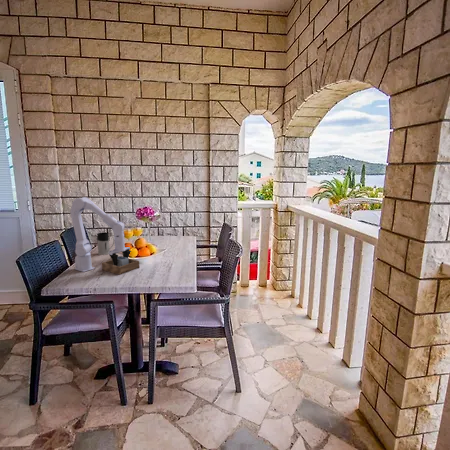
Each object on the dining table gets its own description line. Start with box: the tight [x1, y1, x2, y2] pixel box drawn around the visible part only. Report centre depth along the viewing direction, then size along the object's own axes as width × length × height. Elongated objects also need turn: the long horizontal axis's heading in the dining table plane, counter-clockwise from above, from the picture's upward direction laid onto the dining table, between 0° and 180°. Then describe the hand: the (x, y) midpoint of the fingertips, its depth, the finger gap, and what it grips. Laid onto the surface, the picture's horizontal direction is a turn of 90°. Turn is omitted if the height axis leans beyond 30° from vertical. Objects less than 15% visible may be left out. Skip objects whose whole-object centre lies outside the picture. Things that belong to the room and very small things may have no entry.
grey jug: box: [96, 231, 115, 256], centre depth 213 cm, size 9×14×15 cm, turn 71°
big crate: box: [101, 258, 140, 275], centre depth 180 cm, size 16×15×4 cm
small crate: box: [113, 255, 129, 267], centre depth 180 cm, size 8×5×6 cm, turn 59°
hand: (120, 263), depth 180 cm, fingers open, 7 cm apart
